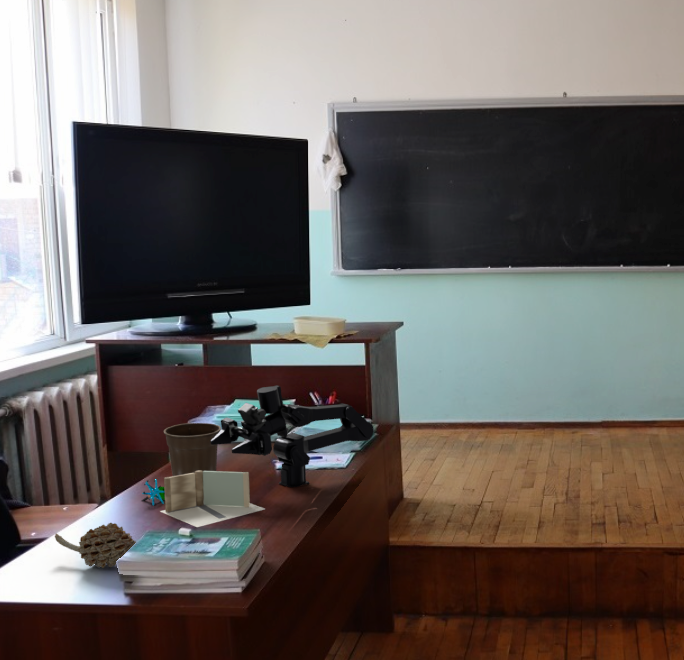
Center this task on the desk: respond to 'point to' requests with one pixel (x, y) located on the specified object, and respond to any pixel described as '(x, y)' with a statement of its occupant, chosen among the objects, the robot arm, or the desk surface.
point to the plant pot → (192, 447)
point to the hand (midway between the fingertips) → (221, 447)
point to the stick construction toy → (157, 490)
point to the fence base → (183, 491)
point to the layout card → (211, 513)
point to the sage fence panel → (226, 488)
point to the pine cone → (101, 545)
